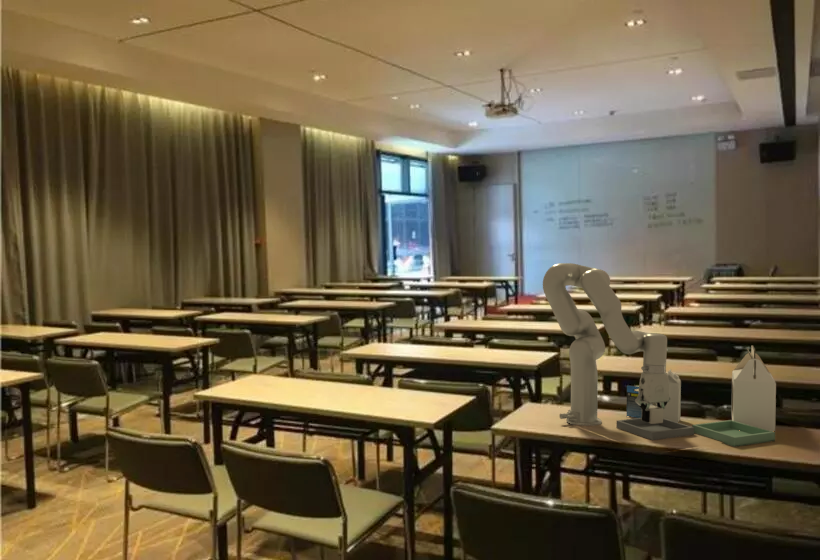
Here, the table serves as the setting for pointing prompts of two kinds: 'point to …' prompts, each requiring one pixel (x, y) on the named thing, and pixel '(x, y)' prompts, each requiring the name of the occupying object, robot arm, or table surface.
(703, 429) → the sage green bin
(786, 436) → the table surface
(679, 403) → the milk carton
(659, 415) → the beige cube
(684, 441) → the table surface
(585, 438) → the table surface
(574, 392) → the robot arm
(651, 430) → the charcoal bin
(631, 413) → the label tape cartridge
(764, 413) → the gable box
